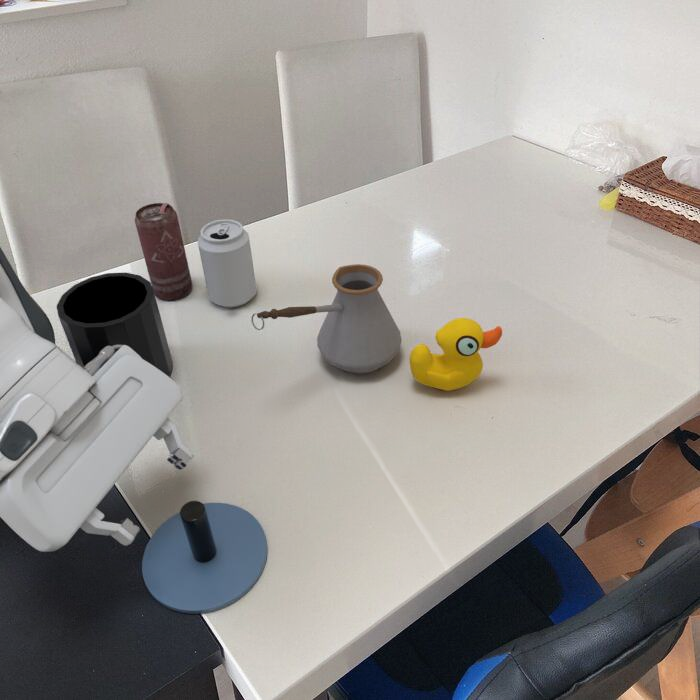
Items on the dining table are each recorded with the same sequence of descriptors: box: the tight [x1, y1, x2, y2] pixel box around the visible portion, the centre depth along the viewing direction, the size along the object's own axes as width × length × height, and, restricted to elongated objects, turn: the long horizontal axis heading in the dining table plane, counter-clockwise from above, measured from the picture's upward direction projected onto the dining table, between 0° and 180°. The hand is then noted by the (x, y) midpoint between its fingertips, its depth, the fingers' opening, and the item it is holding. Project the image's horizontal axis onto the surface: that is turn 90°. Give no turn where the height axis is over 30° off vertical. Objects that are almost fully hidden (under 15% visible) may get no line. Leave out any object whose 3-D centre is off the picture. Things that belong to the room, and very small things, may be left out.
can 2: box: [197, 218, 258, 309], centre depth 102 cm, size 8×8×12 cm
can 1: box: [134, 202, 193, 302], centre depth 103 cm, size 6×6×14 cm
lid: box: [141, 500, 268, 615], centre depth 67 cm, size 13×13×8 cm
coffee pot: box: [251, 263, 403, 375], centre depth 87 cm, size 21×12×15 cm, turn 131°
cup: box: [56, 272, 174, 378], centre depth 89 cm, size 12×12×12 cm
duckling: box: [409, 317, 503, 391], centre depth 86 cm, size 11×5×10 cm, turn 93°
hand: (161, 498), depth 65 cm, fingers open, 8 cm apart
